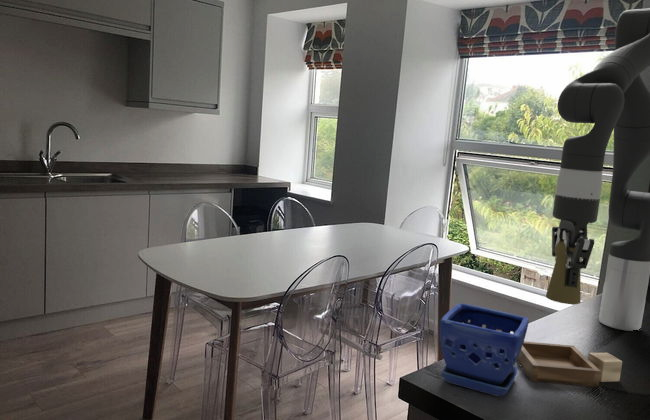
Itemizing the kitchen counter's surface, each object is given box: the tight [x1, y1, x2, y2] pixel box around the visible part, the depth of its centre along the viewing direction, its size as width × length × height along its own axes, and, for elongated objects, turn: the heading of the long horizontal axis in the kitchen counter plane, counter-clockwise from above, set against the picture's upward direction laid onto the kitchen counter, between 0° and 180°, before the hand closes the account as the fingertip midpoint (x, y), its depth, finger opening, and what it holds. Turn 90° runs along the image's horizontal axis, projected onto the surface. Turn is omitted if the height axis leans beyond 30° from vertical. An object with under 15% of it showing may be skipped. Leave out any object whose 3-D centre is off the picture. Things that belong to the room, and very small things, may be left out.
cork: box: [545, 241, 583, 305], centre depth 101 cm, size 6×6×11 cm
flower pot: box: [439, 303, 530, 397], centre depth 96 cm, size 13×13×12 cm
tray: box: [516, 340, 601, 388], centre depth 104 cm, size 12×12×3 cm
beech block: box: [587, 352, 623, 383], centre depth 103 cm, size 4×4×4 cm
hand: (564, 284), depth 102 cm, fingers closed on cork, 3 cm apart
